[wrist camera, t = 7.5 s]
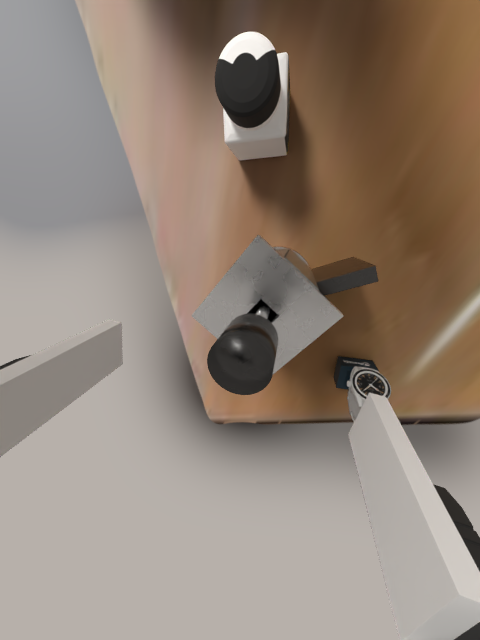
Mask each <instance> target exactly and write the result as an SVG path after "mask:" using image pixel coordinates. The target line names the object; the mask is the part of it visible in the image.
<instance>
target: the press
mask: <svg viewBox="0 0 480 640" xmlns="http://www.w3.org/2000/svg"><path fill="white" fill-rule="evenodd" d="M374 282H378V277H377V271H376V266H375V265H372V264H370V263H367V262H365V261H362V260H360V259H357V258H355V257H351V258H348V259H344V260H341V261H338V262H334V263H331V264H328V265H324V266H321V267H318V268H315V269H311V268H310V267H309V265H308V263H307V262H306V260H305V259H304V258H303V257H302V256H301V255H300V254H299V253H297V252H296V251H294V250H292V249H289V248H285V247H272V246H271V245H270V244H269V243H268V242H267V241H266V240H265V239H264V238H262V237H261V236H260V235H257V237H256V238H255V239H254V240H253V241H252V243H251V244H250V245H249V246H248V248H247V249H246V250H245V251H244V252H243V254H242V255H241V256H240V257H239V259H238V260H237V261H236V262H235V263H234V265H233V266H232V267H231V268H230V269H229V271H228V272H227V273H226V274H225V276H224V277H223V278H222V279H221V280H220V282H219V283H218V284H217V285H216V287H215V288H214V289H213V290H212V291H211V293H210V294H209V295H208V296H207V297H206V299H205V300H204V301H203V302H202V304H201V305H200V306H199V307H198V308H197V310H196V311H195V312H194V313H193V314H192V317H193V318H195V319H196V320H197V321H198V322H199V323H200V324H201V325H202V326H204V327H205V328H206V329H207V330H208V331H209V332H210V333H211V334H213V335H214V336H215V337H216V338H217V339H218V338H219V337H220V336H221V334H222V333H223V332H224V330H225V329H226V328H227V326H228V325H229V324H230V323H231V321H232V320H233V319H235V318H236V317H238V316H240V315H243V314H256V312H257V310H258V309H256V308H255V307H254V305H255V304H256V303H257V302H258V301H259V300H260V299H262V300H263V301H264V302H265V303H266V304H267V305H268V306H269V307H270V308H271V309H273V310H274V311H275V312H276V313H277V314H278V315H268V318H267V319H268V320H269V321H270V322H271V323H272V324H273V326H274V327H275V329H276V331H277V334H278V347H277V353H276V358H275V364H274V370H273V374H274V373H275V372H276V371H278V370H279V369H280V368H281V367H282V366H284V365H285V364H286V363H287V362H289V361H290V360H291V359H292V358H293V357H295V356H296V355H297V354H298V353H300V352H301V351H302V350H303V349H304V348H306V347H307V346H308V345H309V344H310V343H312V342H313V341H314V340H315V339H317V338H318V337H319V336H320V335H321V334H323V333H324V332H325V331H326V330H328V329H329V328H330V327H331V326H332V325H334V324H335V323H336V322H337V321H338V320H340V319H341V318H342V317H343V316H344V315H343V314H342V312H341V311H340V310H339V309H338V308H337V307H336V306H334V305H333V304H332V303H331V302H330V301H329V300H328V299H327V298H326V297H325V296H324V295H328V294H332V293H336V292H340V291H344V290H347V289H351V288H355V287H359V286H363V285H366V284H370V283H374Z"/></svg>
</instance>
